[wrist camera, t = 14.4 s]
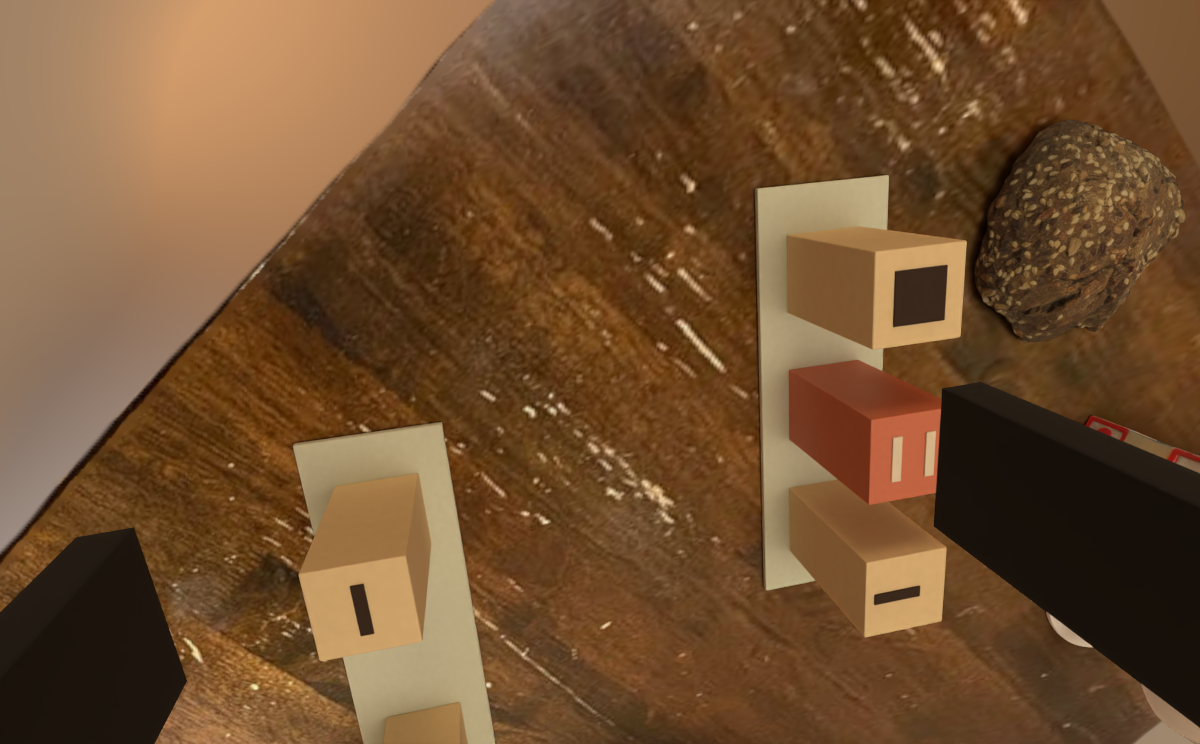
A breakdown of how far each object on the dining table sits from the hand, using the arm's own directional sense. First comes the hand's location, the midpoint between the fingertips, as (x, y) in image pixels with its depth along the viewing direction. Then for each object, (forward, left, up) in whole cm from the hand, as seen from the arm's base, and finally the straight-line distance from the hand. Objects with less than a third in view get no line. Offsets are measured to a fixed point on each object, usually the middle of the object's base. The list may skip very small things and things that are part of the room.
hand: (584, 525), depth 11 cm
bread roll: (+2, +35, -28) cm, 44 cm away
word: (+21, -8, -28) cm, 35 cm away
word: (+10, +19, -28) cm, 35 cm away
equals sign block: (+10, +19, -27) cm, 34 cm away
